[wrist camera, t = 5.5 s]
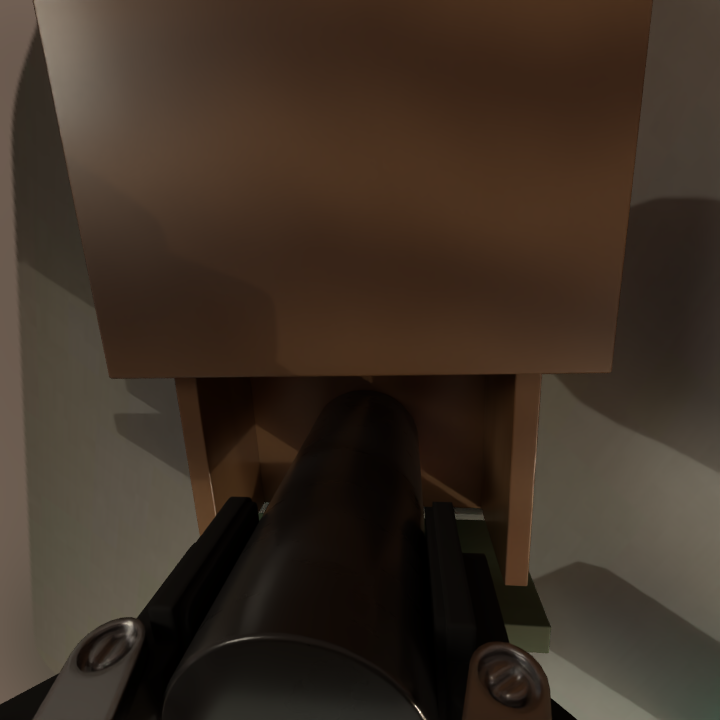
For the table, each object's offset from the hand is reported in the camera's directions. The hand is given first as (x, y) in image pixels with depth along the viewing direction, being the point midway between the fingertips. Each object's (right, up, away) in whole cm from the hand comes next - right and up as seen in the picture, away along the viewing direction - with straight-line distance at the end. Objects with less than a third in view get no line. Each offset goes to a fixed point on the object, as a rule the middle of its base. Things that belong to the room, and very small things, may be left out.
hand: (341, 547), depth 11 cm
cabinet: (+1, +14, +6) cm, 16 cm away
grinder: (+1, +2, +7) cm, 7 cm away
